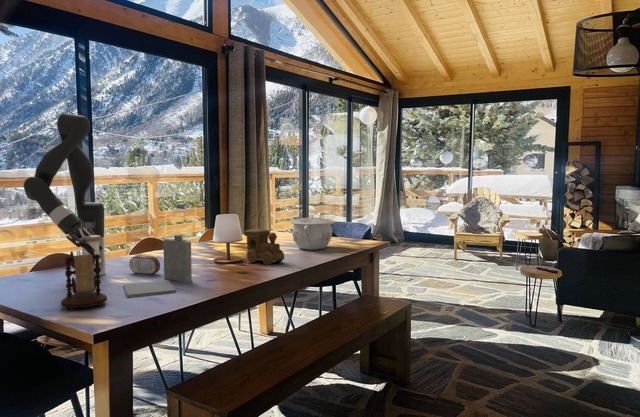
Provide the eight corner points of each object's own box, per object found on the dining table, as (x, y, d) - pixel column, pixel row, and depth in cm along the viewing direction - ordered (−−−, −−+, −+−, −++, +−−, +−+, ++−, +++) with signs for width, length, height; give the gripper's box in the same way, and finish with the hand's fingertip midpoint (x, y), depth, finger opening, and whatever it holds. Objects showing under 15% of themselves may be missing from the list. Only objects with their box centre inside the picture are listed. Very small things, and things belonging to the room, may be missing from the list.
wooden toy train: (243, 261, 257) (242, 230, 255) (257, 258, 266) (257, 228, 265) (272, 266, 246) (272, 233, 244) (286, 262, 255) (286, 231, 254)
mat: (123, 286, 202) (123, 284, 202) (168, 282, 210) (168, 280, 210) (127, 297, 186) (127, 294, 186) (175, 292, 194) (175, 289, 194)
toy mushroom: (79, 263, 184) (78, 237, 183) (89, 260, 190) (88, 235, 189) (96, 264, 184) (95, 237, 183) (104, 260, 190) (104, 235, 189)
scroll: (64, 314, 165) (62, 255, 163) (58, 304, 177) (55, 249, 175) (111, 307, 174) (109, 251, 172) (101, 297, 186) (100, 245, 184)
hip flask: (162, 278, 219) (161, 233, 217) (169, 276, 222) (168, 232, 220) (187, 282, 210) (186, 236, 208) (194, 281, 214) (194, 235, 212)
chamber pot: (315, 243, 320) (315, 211, 318) (343, 249, 298) (344, 215, 297) (280, 247, 302) (280, 214, 300) (307, 254, 281) (307, 218, 279)
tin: (160, 274, 227) (160, 256, 226) (156, 275, 224) (156, 257, 223) (132, 272, 231) (132, 254, 231) (128, 273, 228) (128, 255, 227)
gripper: (60, 214, 179) (93, 247, 179) (82, 210, 193) (112, 241, 193) (47, 228, 180) (79, 261, 180) (70, 223, 194) (100, 254, 194)
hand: (96, 251), depth 186 cm, fingers closed on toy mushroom, 5 cm apart
